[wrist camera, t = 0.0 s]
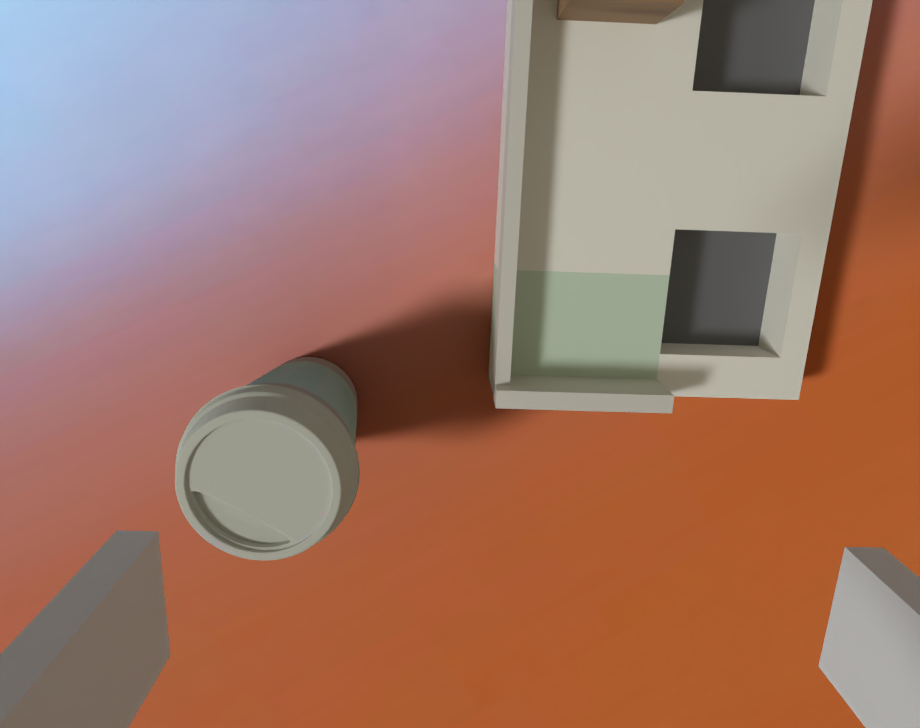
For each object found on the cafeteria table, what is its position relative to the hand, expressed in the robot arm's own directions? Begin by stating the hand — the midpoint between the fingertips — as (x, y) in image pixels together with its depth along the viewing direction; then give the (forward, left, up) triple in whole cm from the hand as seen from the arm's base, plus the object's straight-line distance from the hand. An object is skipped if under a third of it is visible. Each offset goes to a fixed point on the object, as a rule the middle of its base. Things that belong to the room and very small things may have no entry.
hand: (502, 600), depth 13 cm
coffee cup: (+6, -9, -28) cm, 30 cm away
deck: (-9, +11, -28) cm, 31 cm away
